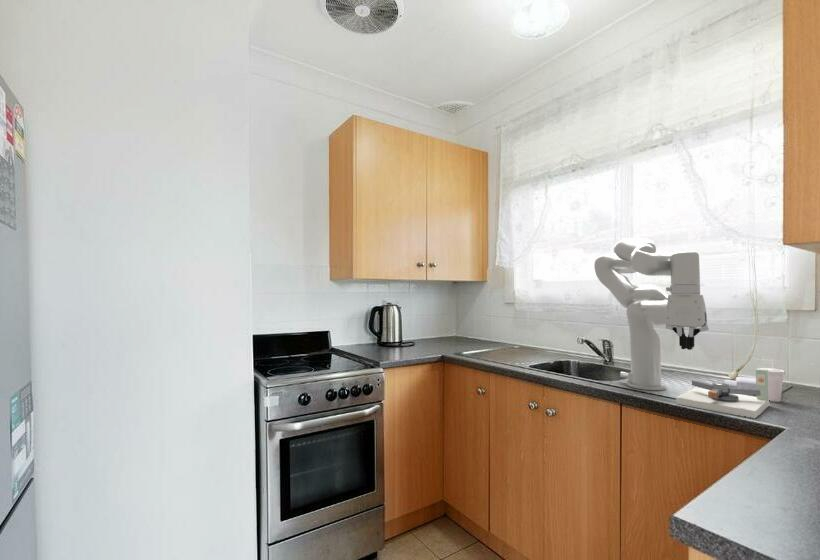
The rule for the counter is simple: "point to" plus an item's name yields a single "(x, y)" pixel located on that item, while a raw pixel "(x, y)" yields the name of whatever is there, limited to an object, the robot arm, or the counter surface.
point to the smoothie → (775, 382)
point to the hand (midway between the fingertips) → (687, 348)
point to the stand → (742, 407)
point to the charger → (741, 382)
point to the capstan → (724, 390)
